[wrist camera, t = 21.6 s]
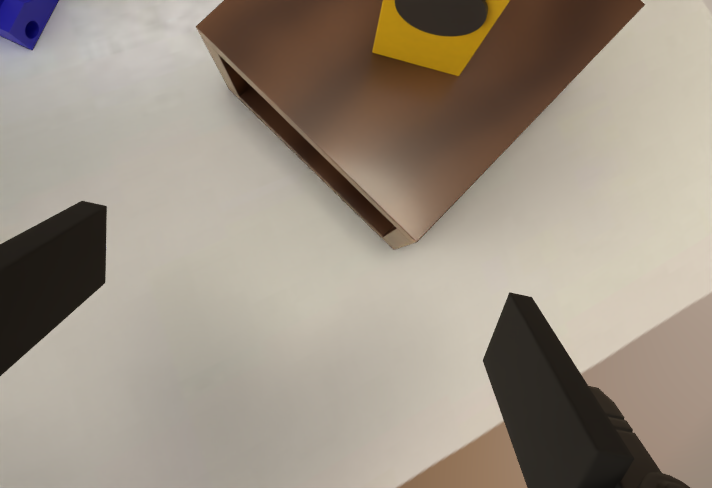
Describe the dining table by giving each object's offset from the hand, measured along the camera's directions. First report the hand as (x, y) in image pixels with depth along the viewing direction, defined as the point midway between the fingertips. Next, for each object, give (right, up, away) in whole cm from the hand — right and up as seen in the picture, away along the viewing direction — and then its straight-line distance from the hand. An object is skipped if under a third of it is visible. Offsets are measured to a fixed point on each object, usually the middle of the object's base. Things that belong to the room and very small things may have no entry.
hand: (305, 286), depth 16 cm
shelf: (+6, +16, +27) cm, 32 cm away
